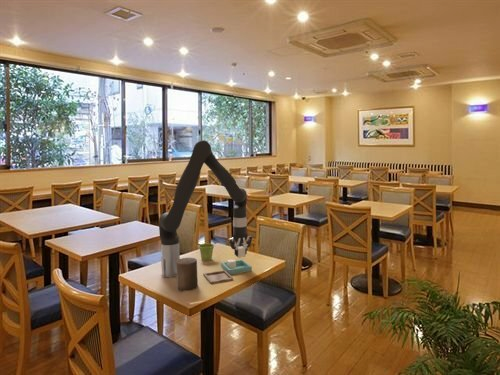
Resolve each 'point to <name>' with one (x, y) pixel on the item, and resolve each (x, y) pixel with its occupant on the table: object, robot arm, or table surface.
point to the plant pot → (206, 251)
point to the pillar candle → (187, 274)
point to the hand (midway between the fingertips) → (240, 255)
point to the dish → (237, 267)
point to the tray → (218, 276)
